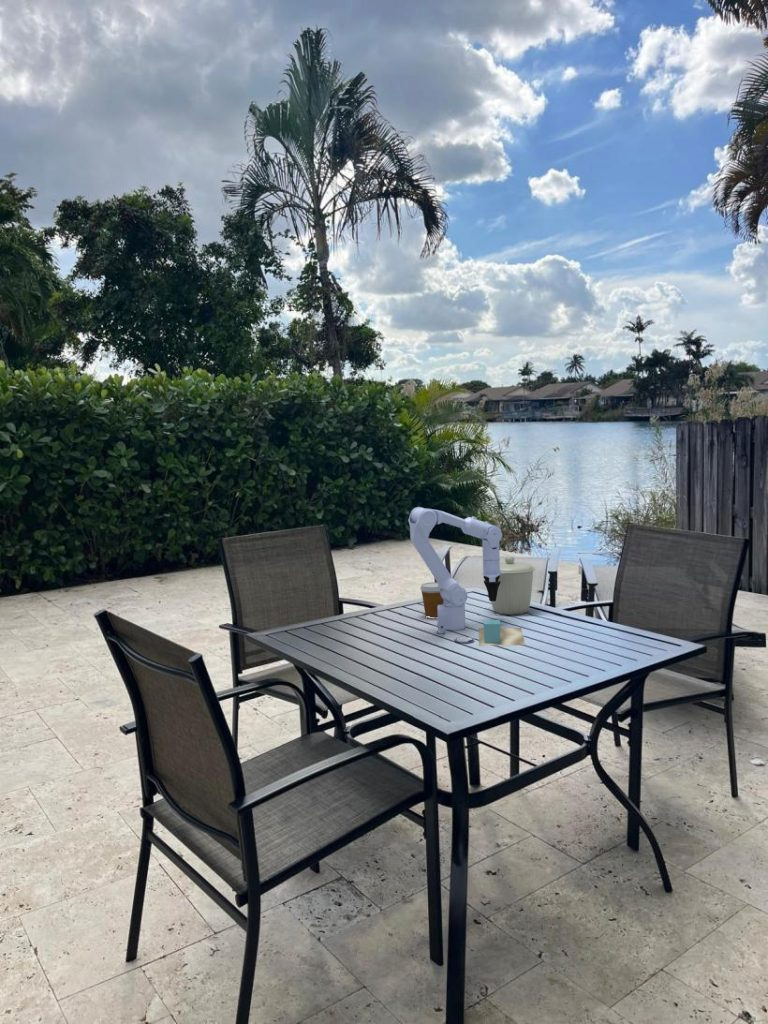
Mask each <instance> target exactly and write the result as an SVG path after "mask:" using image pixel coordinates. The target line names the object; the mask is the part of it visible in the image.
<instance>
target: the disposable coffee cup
mask: <svg viewBox="0 0 768 1024" xmlns="http://www.w3.org/2000/svg"><path fill="white" fill-rule="evenodd" d="M420 591H421V595H422V596H421V598H422V601H423V603H422V604H423V608H424V614H425V615H426V616H430V617H438V605H443V602H444V599H443V598H442V597H441V595H440V589H439V587H438V582H437V581H436V582H425V583H422V584H421V585H420ZM426 616H425V617H426Z"/></svg>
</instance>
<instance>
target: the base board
mask: <svg viewBox="0 0 768 1024" xmlns="http://www.w3.org/2000/svg"><path fill="white" fill-rule="evenodd" d="M500 638H501V643H484V627H480V628H478V646H526V642H525V639H524V634H523V630H522V627H500Z"/></svg>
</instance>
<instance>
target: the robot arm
mask: <svg viewBox="0 0 768 1024" xmlns="http://www.w3.org/2000/svg"><path fill="white" fill-rule="evenodd" d="M407 521H408V523H409V536H410V541H411V544H413V545H412V546H414V548H415V549H416V551H417V553H418V554H419V556H420V557H421V559H422V560H423V563H424V564H425V565H426V567H427V568H428V570H429V571H430V573H431V575H432V576H433V577H434V579H435V581H436V582H438V587H439V589H440V595H441V597H442V598H443V599H444V602H443V605H438V619H437V621H436V624H437V625H436V626H437V627H436V628H437V633H438V634H446V631H448V630H449V631H458V630H459V631H460V630H463V629H465V628H466V602H467V601H468V592H467V590H466V588H463V587H462V586H460V584H459V583H458V582H457V581H456V580H455V578H453V577H452V575H451V573H450V571H448V568H447V567H446V566H445V564H444V562H443V561H442V559H441V558H440V556H439V554H438V553H437V551H436V549H434V547H433V545H432V544H431V542H430V540H429V537H430V533H432V530H433V528H434V527H435V526H436V525H440V524H443V523H444V524H446V525H450V526H454V527H457V528H460V529H461V531H462V533H463V534H464V535H469V536H472V537H474V538H477V539H480V540H482V542H481V543H482V570H483V571H482V575H483V579H484V580H483V583H484V585H485V587H486V590H487V596H488V600H489V602H491V601H496V598H497V591H498V588H499V585H500V583H501V581H498V580H499V578H500V575H501V574H504V572H503V571H500V562H501V557H500V541H501V539H502V538H503V532H502V530H501V528H500V527H499V526H497V525H494V524H490V523H489V521H486V520H485V521H482V520H480V519H478V518H477V517H476V516H473V515H472V516H471V517H470V516H468V517H466V518H462V517H459V516H456V515H455V514H454V515H453V514H451V513H450V512H449V513H448V512H445V511H443V510H438V509H432V508H428V507H427V508H424V507H422V506H417V507H414V508H413V509H412V510H411V512H410V514H409V518H408V520H407Z"/></svg>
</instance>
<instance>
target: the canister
mask: <svg viewBox="0 0 768 1024" xmlns="http://www.w3.org/2000/svg"><path fill="white" fill-rule="evenodd" d="M535 570H536V567H535V566H534V565H532V564H530V563H527V562H525V561H524V562H523V561H516V560H515V556H513V555H511V554H510V555H506V556H505V557H504V561H500V571H503V572H504V574H501V575H500V578H499V580H498V581H501V583H500V585H499V588H498V591H497V598H496V601H490V602H491V607H492V609H493V611H494V612H495V613H497V614H499V615H505V616H515V615H522V614H524V613H527V612H528V611H529V610H530V606H531V601H532V600H531V599H532V591H533V580H534V579H533V578H534V571H535Z"/></svg>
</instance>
